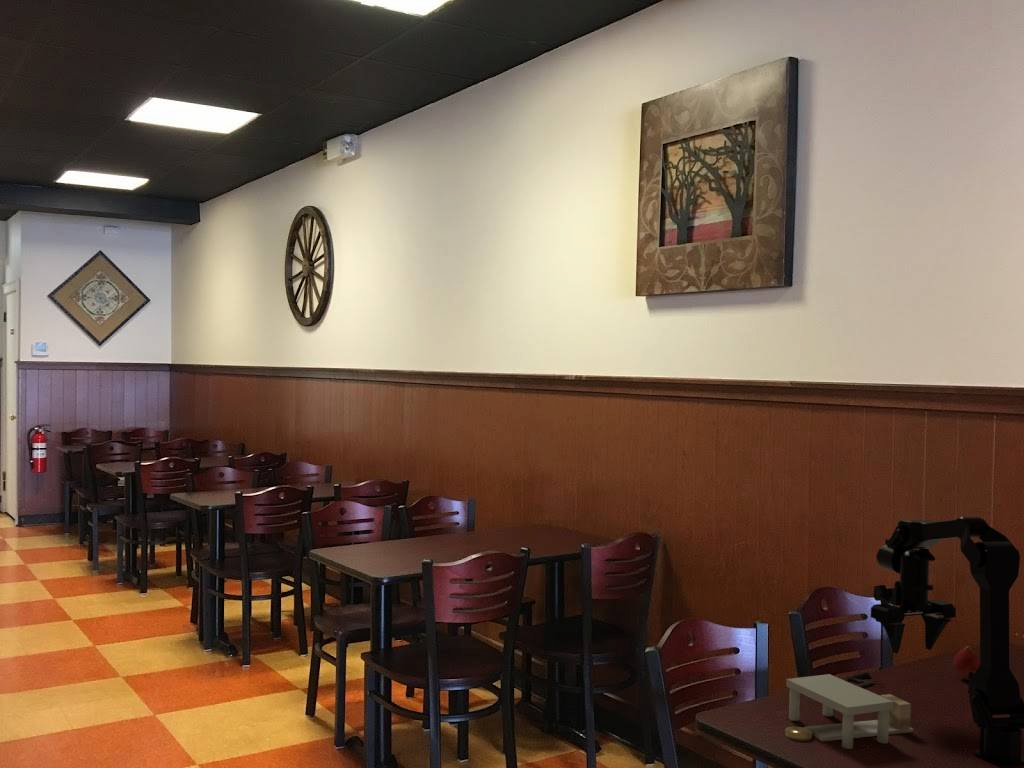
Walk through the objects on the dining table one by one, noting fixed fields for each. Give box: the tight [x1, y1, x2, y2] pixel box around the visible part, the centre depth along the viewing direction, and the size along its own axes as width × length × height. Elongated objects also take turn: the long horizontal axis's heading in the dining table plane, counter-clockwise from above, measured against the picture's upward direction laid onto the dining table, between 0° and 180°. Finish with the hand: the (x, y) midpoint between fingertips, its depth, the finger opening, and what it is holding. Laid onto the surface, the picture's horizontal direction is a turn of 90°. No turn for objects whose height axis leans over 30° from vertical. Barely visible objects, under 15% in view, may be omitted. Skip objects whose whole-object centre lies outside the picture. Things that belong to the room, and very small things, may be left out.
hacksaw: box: [841, 671, 884, 688], centre depth 220 cm, size 24×10×2 cm, turn 123°
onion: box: [952, 645, 980, 681], centre depth 229 cm, size 6×6×8 cm
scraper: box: [803, 693, 914, 742], centre depth 193 cm, size 6×21×6 cm, turn 107°
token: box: [784, 726, 813, 742], centre depth 190 cm, size 5×5×1 cm
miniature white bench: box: [785, 673, 893, 750], centre depth 193 cm, size 18×11×8 cm, turn 22°
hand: (912, 651), depth 208 cm, fingers open, 9 cm apart
